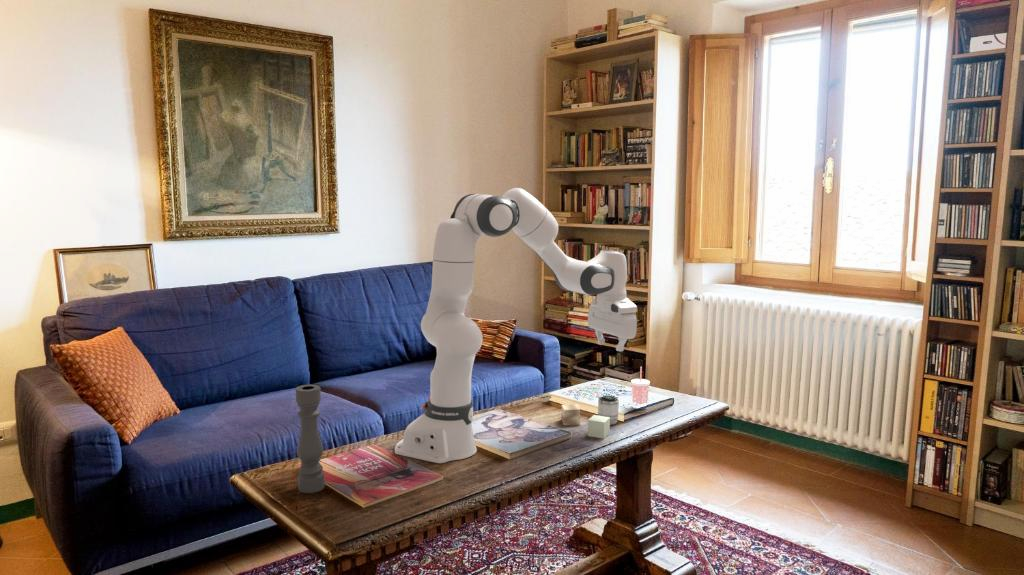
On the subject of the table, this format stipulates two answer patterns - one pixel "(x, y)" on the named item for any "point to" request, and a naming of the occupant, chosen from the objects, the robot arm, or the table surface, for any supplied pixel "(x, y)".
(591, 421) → the sage cube
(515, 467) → the table surface
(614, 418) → the potted succulent
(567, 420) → the birch cube
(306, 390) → the candle holder
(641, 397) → the beverage cup
